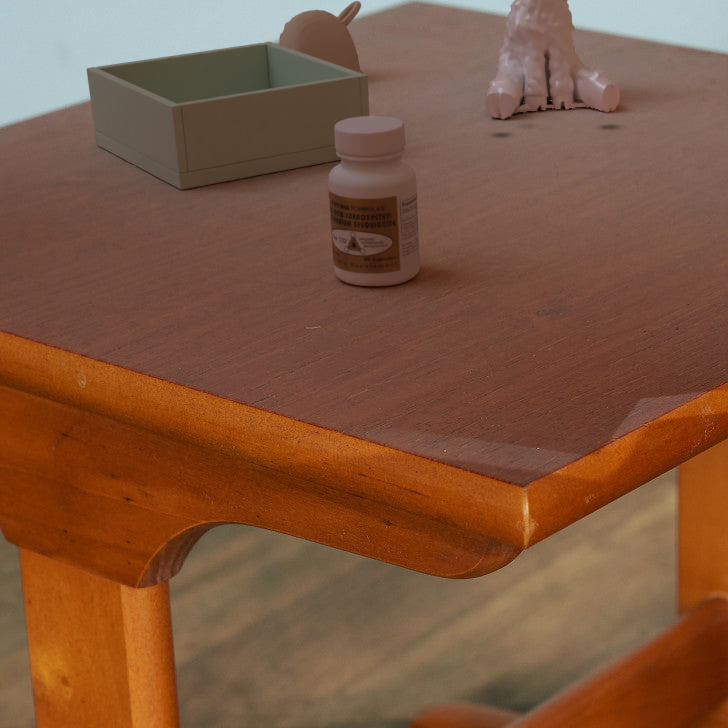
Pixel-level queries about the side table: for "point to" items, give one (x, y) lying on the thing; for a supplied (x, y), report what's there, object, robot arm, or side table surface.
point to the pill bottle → (373, 204)
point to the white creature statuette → (545, 64)
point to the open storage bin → (224, 112)
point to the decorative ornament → (323, 36)
